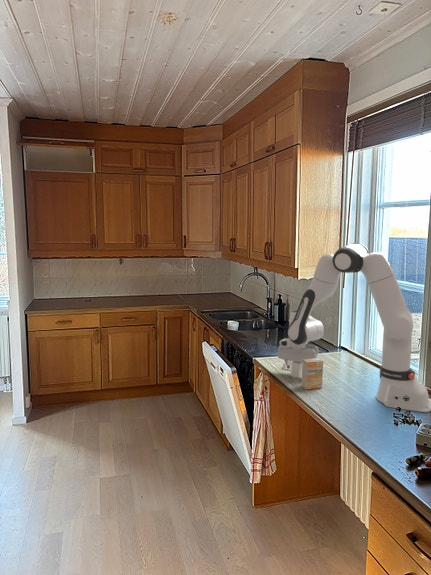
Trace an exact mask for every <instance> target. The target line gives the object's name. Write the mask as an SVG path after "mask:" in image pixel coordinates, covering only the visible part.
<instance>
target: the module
mask: <svg viewBox="0 0 431 575" xmlns="http://www.w3.org/2000/svg"><path fill="white" fill-rule="evenodd" d="M290 377H292V378H296V377H297V378H296V379H300V378H302V363H300V362H295V361H291V371H290Z"/></svg>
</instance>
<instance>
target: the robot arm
mask: <svg viewBox="0 0 431 575" xmlns="http://www.w3.org/2000/svg"><path fill="white" fill-rule="evenodd" d="M359 272H361V273H362V274H363V276H364V278H365V281H366V283H367V286H368V288H369V290H370V293H371V295H372V296H371V297H372V298H373V300H374V303H375V307H376V309H377V313H378V316H379V318H380V320H381V323H382V326H383V337H382V338H383V339H382V348H381V349H382V352H381V354H382V355H381V364H380V367H379V368H380V369H379V384H378V388H377V392H376V393H375V394H376V395H375V399H376V400H377V401H379V402H380V403H382V404H383V405H384V406H385V407H387V408H394V409H398V408H397V407H400V408H401V409H400V410H406V411H413V412H419V413H430V412H431V398H429V392H428V389H427V388H426V387H425V386H424V385H423V384H422V383H421V382H419V381H418V380H417V378H415V375H416V370H415V369H414V370H413V369H412V368H411V359H412V358H411V357H412V356H411V355H412V338H413V337H412V336H413V335H412V334H413V330H414V320H413V314H412V313H411V312H410V310H409V309H408V305H407V303H406V300H405V297H404V295H403V293H402V289H401V287H400V285H399V283H398V280H397V276H396V275H395V272H394V270H393V267H392V265H391V264H390V263H389V261H388V259H387V257H386V256H385V254H383V253H381V252H371V253H370V252H369V249H368V247H367V246H366V245H364V244H363V243H359V242H354V243H351V244H347V245H344V246H342V247H340V248H338V249H337V250H336V251H335V252H334V253H326V254H323V255H322V256H321V257H320V258H319V260H318V262H317V265H316V267H315V270H314V274H313V277H312V280H311V282H310V284H309V286H308V288H307V289H306V291H305V292H304V293H303V295H302V297H301V299H300V301H299V303H298V307H297V309H296V310H293V311H291V313H290V316H289V326H288V328H287V336H288V337H286V338H283V339H281V340H280V341H279V345H278V348H277V357H278V359H279V360H284V364H286V365H287V369H290V368H291V367H290V366H291V365H289V363H288V361H291V362H293V361H295V362H300V363H302V361H303V359H312V358H319V353H320V352H319V351H320V350H319V347H318V346H316V345H315V344H308V343H309V342H313V341H317V340H320V339H322V338H323V337H324V335H325V325H324V323H323V322H322V321H321V320H319V319H316V318H314V317H313V316H312V315H311V314H312V311H313V310H314V308H315V307H316V306H317V305H318V304H320V303H321V302H323V301H325V300H327V299H329V298H331V297H332V296H333V295H334V294H335V292H336V290H337V288H338V284H339V282H340V277H341V276H342V275H341V274H342V273H345V274H350V273H353V274H354V273H359Z"/></svg>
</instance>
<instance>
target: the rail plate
mask: <svg viewBox="0 0 431 575" xmlns="http://www.w3.org/2000/svg"><path fill="white" fill-rule="evenodd" d="M291 362H292V361H290V360H289V361H288V363H289V365H291ZM282 365H283V367H282V370H286V371H290V372H291V368H290V369H287V365H286V364H285V363H283V364H282ZM290 367H291V366H290Z"/></svg>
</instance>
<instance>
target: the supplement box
mask: <svg viewBox="0 0 431 575" xmlns="http://www.w3.org/2000/svg"><path fill="white" fill-rule="evenodd" d="M323 372H324V360H323V359H321V358H312V359H303V361H302V376H301V387H302V388H303V389H304V388H305V389H304V390H315V389H323V376H324V375H323V374H324V373H323Z"/></svg>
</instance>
